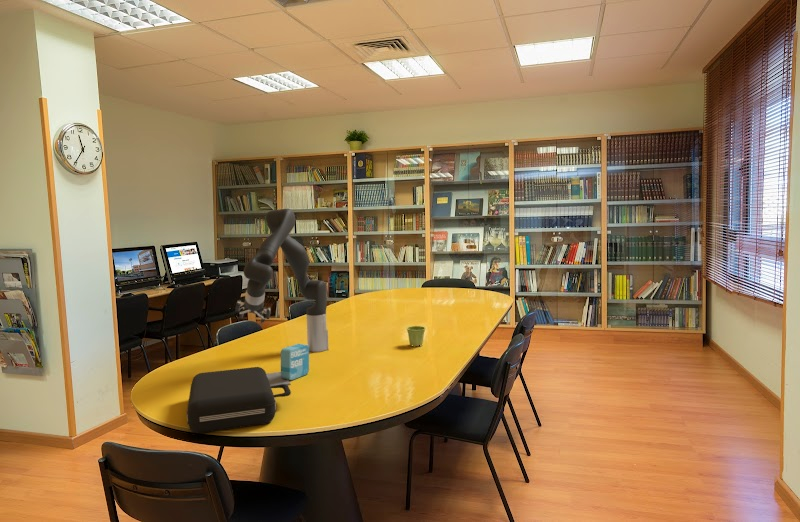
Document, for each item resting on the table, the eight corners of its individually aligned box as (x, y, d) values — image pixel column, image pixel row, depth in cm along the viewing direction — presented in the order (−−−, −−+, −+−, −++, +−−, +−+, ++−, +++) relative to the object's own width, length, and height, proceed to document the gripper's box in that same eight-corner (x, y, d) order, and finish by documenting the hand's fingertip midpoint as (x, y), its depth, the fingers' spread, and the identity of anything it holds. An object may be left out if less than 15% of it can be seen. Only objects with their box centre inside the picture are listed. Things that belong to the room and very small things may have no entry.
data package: (289, 381, 203) (289, 350, 202) (280, 379, 205) (280, 348, 204) (309, 373, 213) (309, 344, 213) (300, 372, 216) (300, 343, 215)
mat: (282, 372, 216) (281, 371, 216) (290, 384, 200) (290, 383, 200) (246, 377, 211) (246, 376, 211) (252, 390, 194) (252, 389, 194)
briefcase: (298, 422, 163) (296, 390, 162) (187, 438, 152) (185, 404, 152) (283, 388, 197) (282, 361, 196) (192, 399, 186) (190, 371, 186)
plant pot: (428, 344, 259) (428, 326, 258) (421, 348, 251) (421, 330, 250) (411, 342, 263) (411, 325, 262) (403, 347, 255) (403, 329, 254)
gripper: (274, 293, 218) (270, 315, 229) (239, 285, 215) (237, 308, 227) (270, 308, 213) (266, 330, 224) (234, 300, 210) (232, 322, 222)
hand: (251, 319), depth 226 cm, fingers open, 8 cm apart
